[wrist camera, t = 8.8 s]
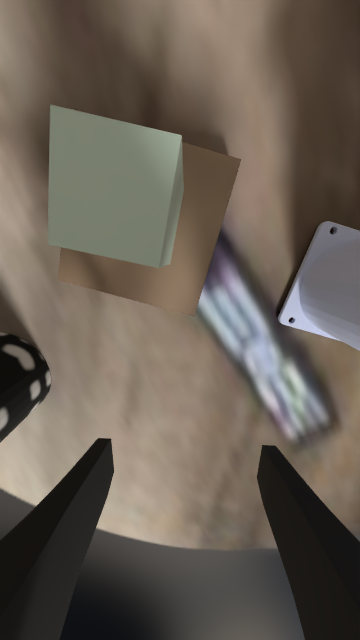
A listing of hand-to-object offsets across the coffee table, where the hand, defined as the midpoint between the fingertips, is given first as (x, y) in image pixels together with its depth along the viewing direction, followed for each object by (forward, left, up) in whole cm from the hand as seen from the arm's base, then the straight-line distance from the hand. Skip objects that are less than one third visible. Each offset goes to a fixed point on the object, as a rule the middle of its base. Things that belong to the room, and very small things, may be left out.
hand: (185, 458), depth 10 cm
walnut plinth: (+6, -10, -10) cm, 15 cm away
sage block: (+6, -10, -7) cm, 14 cm away
